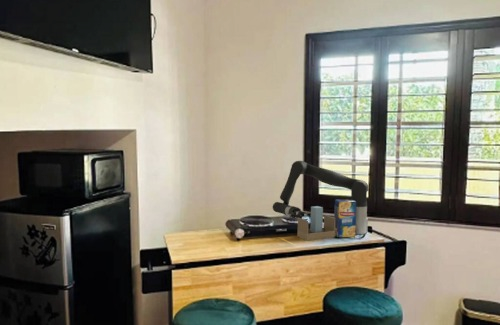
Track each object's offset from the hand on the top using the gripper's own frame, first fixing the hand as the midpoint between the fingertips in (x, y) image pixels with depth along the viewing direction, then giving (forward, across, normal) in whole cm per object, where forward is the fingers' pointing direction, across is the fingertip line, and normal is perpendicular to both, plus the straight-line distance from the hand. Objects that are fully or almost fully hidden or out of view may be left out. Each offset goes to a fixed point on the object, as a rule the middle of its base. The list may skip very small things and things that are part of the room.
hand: (307, 216), depth 233 cm
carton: (+10, 0, +11) cm, 15 cm away
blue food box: (+13, +18, +11) cm, 25 cm away
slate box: (+10, 0, +10) cm, 14 cm away
